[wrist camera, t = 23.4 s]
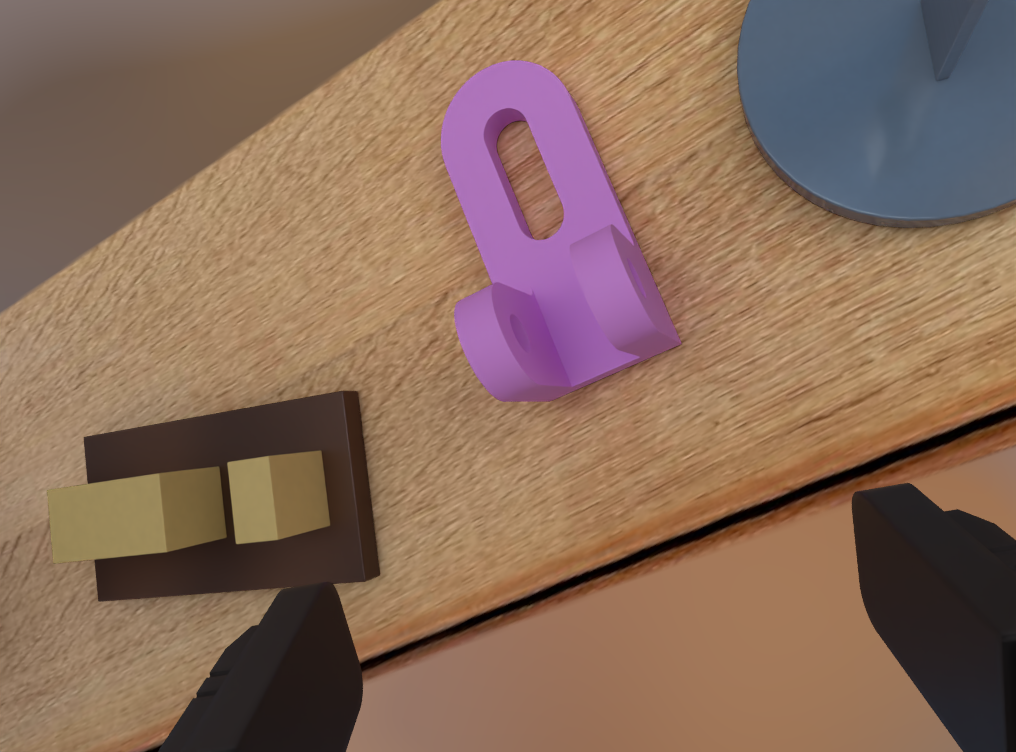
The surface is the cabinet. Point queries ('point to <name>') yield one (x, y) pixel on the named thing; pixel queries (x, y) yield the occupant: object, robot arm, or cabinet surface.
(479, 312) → the bracket
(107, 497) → the butter
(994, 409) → the cabinet surface
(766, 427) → the cabinet surface
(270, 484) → the butter slice
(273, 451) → the board
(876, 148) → the plate
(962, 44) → the knife
